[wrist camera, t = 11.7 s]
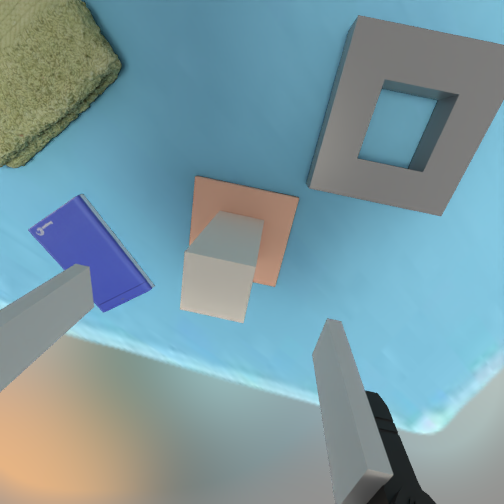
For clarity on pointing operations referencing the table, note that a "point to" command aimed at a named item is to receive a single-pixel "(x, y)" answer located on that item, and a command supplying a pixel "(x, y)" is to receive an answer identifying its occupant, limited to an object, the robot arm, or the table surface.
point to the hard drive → (92, 252)
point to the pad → (251, 205)
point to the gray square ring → (415, 83)
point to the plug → (222, 267)
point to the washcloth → (47, 72)
